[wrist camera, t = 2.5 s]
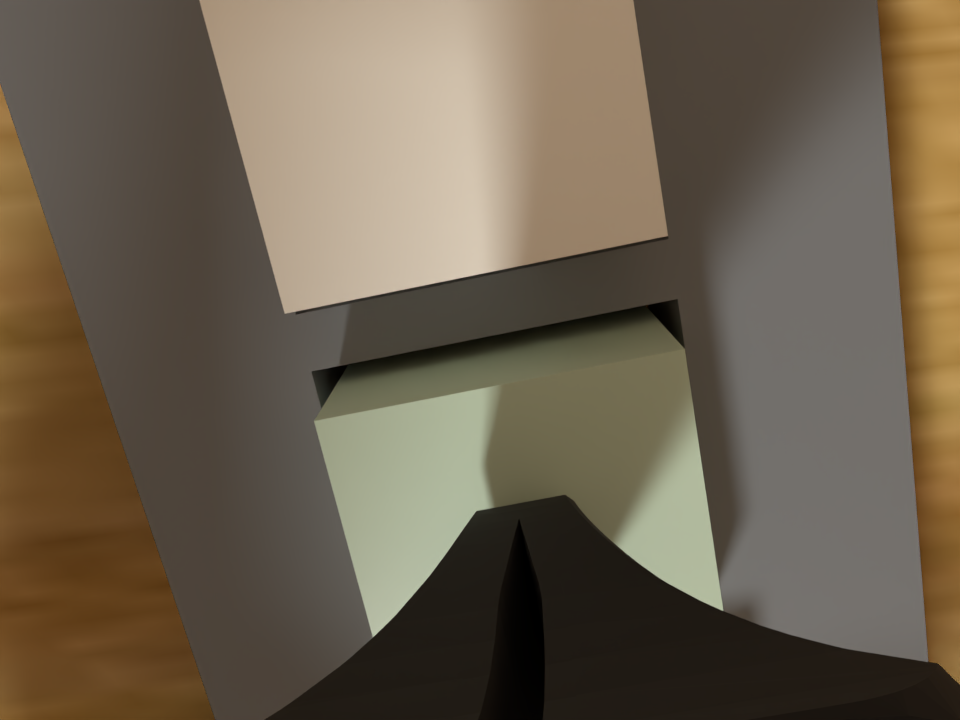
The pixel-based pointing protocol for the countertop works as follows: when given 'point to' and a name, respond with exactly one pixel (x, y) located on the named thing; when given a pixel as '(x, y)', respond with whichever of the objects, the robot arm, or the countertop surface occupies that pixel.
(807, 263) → the panel
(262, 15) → the cream button
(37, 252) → the countertop surface
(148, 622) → the countertop surface
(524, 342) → the sage button
